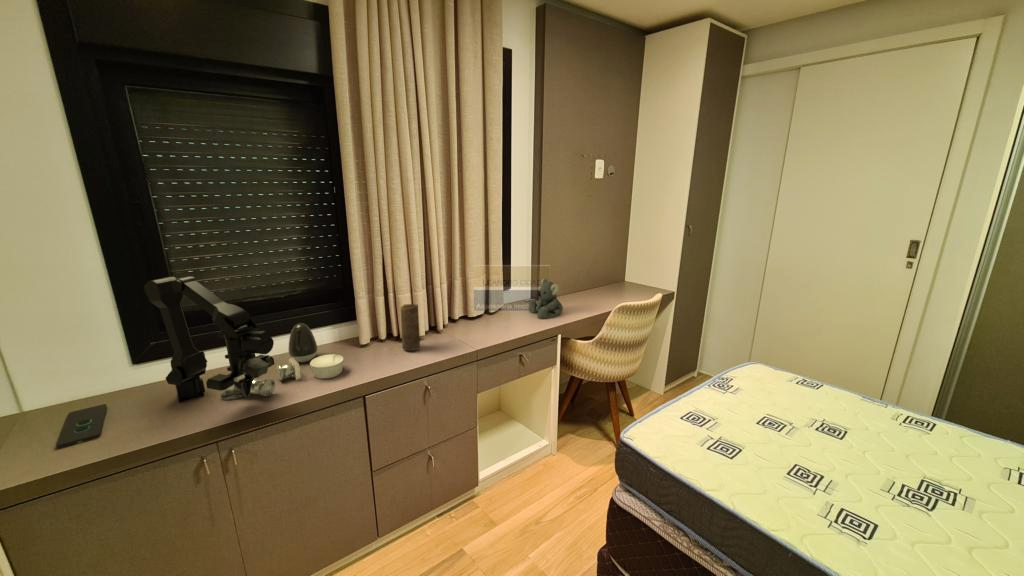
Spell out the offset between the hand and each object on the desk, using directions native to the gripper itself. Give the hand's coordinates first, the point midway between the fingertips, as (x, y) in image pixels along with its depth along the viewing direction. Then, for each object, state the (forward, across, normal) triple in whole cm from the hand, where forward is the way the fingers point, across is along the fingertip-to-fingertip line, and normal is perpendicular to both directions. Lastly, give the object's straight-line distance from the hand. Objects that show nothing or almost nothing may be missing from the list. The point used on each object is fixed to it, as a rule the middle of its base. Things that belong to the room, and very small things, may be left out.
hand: (246, 396), depth 123 cm
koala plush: (+3, +120, -76) cm, 142 cm away
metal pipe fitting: (+3, +10, +6) cm, 12 cm away
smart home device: (+4, -22, +34) cm, 41 cm away
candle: (+3, +54, -28) cm, 61 cm away
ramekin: (+3, +25, -9) cm, 27 cm away
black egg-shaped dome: (+3, +32, +8) cm, 33 cm away
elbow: (+2, +5, +5) cm, 7 cm away
